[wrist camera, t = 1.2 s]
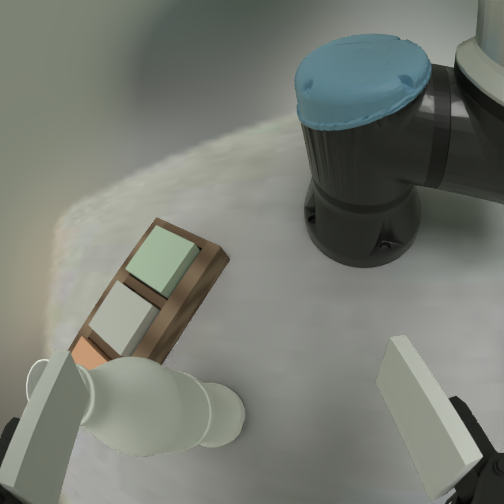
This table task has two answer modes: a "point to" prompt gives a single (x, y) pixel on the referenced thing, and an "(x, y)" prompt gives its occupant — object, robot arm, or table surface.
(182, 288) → the keypad
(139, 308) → the key middle
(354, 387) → the table surface
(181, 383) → the water bottle
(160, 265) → the key sage
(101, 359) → the orange square block
